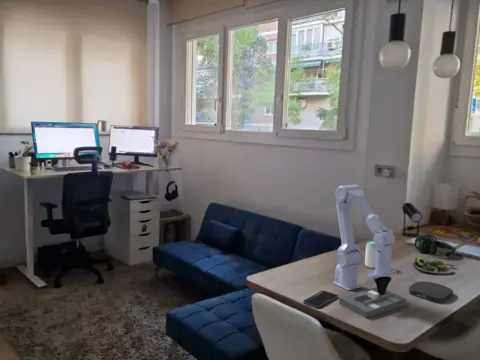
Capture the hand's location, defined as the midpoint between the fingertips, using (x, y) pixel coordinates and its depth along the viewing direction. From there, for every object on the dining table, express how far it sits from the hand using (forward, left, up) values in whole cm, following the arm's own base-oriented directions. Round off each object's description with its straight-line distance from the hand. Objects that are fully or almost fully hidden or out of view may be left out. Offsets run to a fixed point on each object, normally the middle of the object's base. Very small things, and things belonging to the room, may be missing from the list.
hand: (381, 293), depth 169 cm
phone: (-13, -20, -4) cm, 24 cm away
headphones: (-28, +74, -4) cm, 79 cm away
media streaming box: (+5, +24, -4) cm, 25 cm away
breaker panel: (0, -5, -3) cm, 6 cm away
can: (-30, +28, -3) cm, 41 cm away
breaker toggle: (0, -5, 0) cm, 5 cm away
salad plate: (-14, +51, -4) cm, 53 cm away
